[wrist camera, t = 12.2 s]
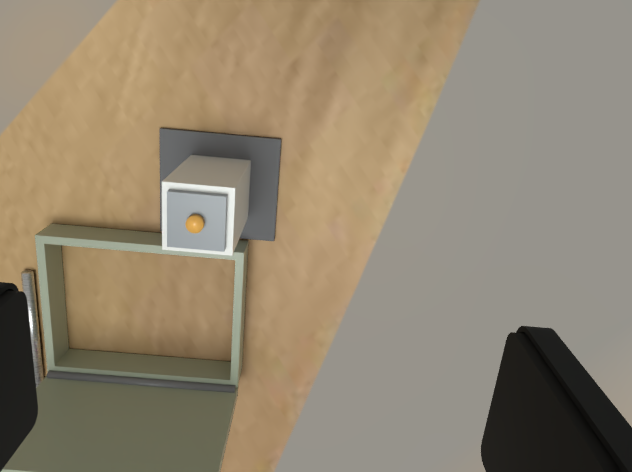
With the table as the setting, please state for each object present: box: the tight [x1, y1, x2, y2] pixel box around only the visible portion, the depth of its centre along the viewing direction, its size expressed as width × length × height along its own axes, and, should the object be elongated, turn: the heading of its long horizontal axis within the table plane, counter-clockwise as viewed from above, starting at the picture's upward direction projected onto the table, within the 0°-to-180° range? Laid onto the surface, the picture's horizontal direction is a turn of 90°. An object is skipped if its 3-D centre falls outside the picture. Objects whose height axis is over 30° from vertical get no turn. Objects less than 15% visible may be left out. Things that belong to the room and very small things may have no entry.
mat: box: [160, 128, 281, 241], centre depth 47 cm, size 9×10×1 cm
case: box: [1, 224, 248, 472], centre depth 44 cm, size 15×17×14 cm
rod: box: [21, 270, 44, 387], centre depth 51 cm, size 12×1×1 cm, turn 175°
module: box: [162, 155, 251, 256], centre depth 42 cm, size 5×5×10 cm
